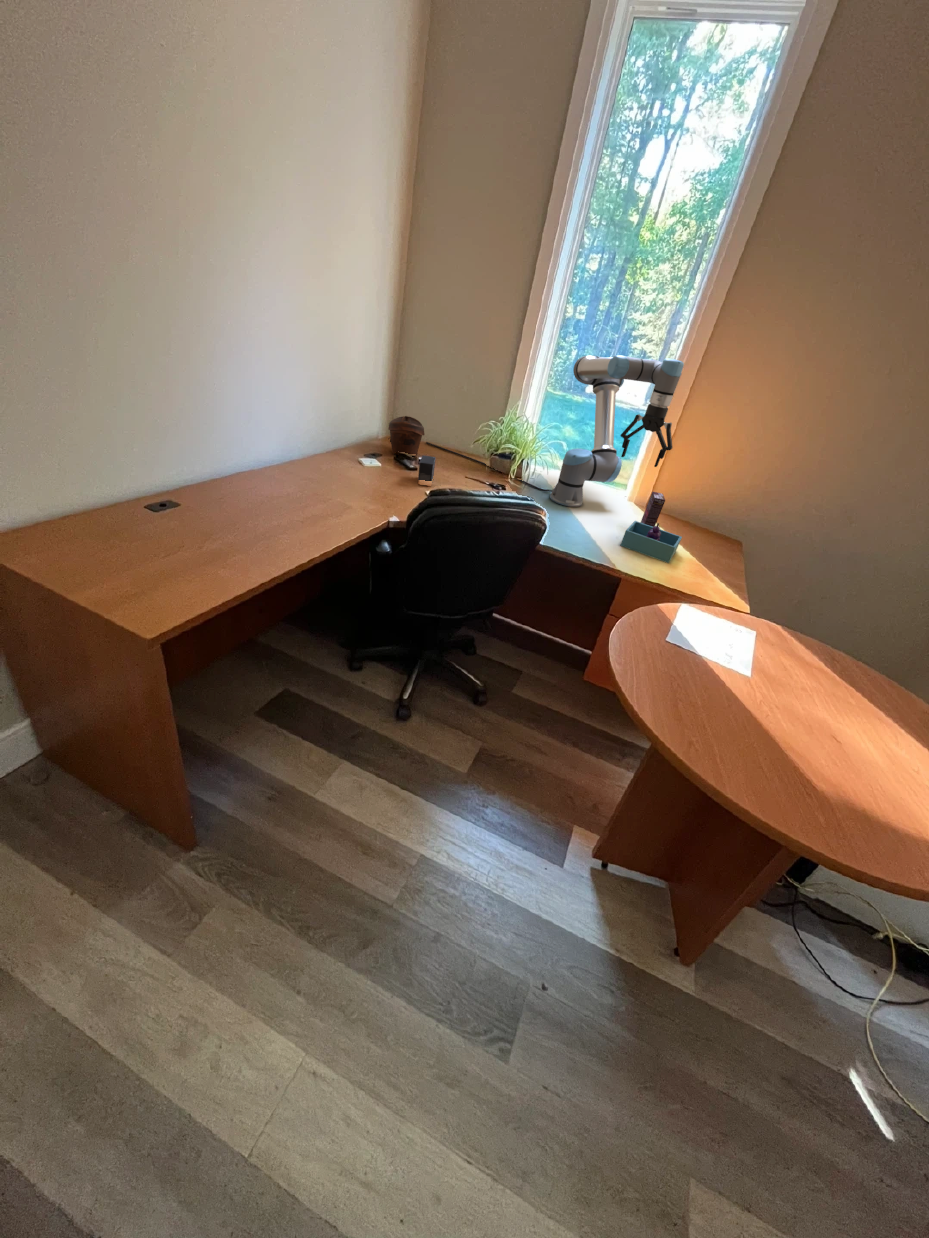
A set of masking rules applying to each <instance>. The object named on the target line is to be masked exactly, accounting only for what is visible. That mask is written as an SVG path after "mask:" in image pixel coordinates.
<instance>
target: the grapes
mask: <svg viewBox="0 0 929 1238" xmlns="http://www.w3.org/2000/svg"><path fill="white" fill-rule="evenodd" d="M660 529H661V527H660V522H657V523H656V525H655V526H654V527H653V528H652V529H651V530H649V532H648V533H647V536H646V537H649V538H651V539H654V540H657V541H660V538H659V537H660V536H661V532H660Z"/></svg>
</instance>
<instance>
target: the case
mask: <svg viewBox="0 0 929 1238" xmlns="http://www.w3.org/2000/svg"><path fill="white" fill-rule="evenodd" d="M388 431H389V436H390V437H388V438H387V440H389V443H390V445H391V452H392V454H393V455H394V453H395V452H398V451H399V452H405V453H408V454H416V456H417V455H418V451H419V448H420V444H421V441H422V438H423V436H425V428H424V425H423V424H422V423H421V421H420V420H418V419H417V418H415V417H412V416H408V415H403V416H399V417H396V418H393V419H392V420H390V421H389V423H388Z"/></svg>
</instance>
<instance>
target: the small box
mask: <svg viewBox="0 0 929 1238" xmlns="http://www.w3.org/2000/svg"><path fill="white" fill-rule="evenodd" d="M435 467H436V456H430V455H421V459H420V461H419V465H418V475H417V481H418V480H425V481H432V479H433V476H434V477H435V469H436V468H435ZM433 480H434V479H433Z"/></svg>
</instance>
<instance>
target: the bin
mask: <svg viewBox="0 0 929 1238" xmlns="http://www.w3.org/2000/svg"><path fill="white" fill-rule="evenodd" d="M652 528H653V527H652V526H649V525H646V524H643V523H641V521H640V522H639V521H638V520H634V521H633V522H632V523H631V524H630V525H629V526H628V527H627V528H626V529H625V531H624V534H623V537H622V540H621V543H620V547H623V548H626V549H629V550H631V551H633V552H637V553H640V554H643V555H644V556H648V557H651V558H653V559H656V560H658V561H661V562H664V563H666V564H669V563H670V561H671V560H672V559H673V557H674V555H675V554H676V552H677V549H678V547H679V546H680V543H681V540H682V539H683V536H681V535H678V534H675V533H672V532H669V531H666V530H663V529H661V528H660V532H661V536H660V537H659V538H660V541H657V540H654V539H651V538H649V537H646V536H647V533H648V532H649V530H651V529H652Z"/></svg>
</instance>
